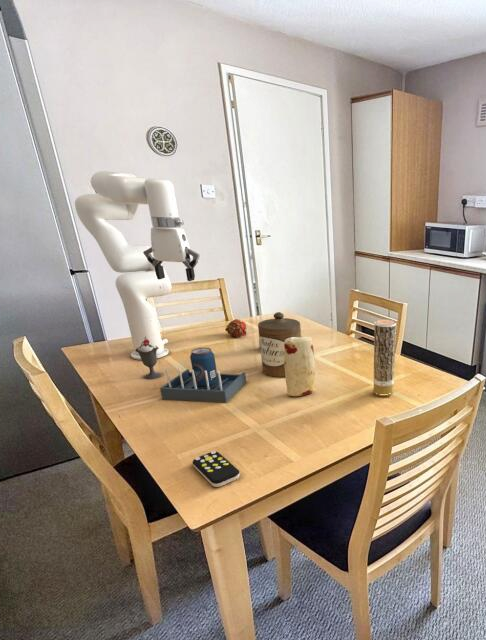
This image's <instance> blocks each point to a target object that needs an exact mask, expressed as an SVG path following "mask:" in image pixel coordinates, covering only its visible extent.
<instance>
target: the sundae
mask: <svg viewBox="0 0 486 640" xmlns="http://www.w3.org/2000/svg"><path fill="white" fill-rule="evenodd" d="M145 339H146V336H145ZM145 339H144V341H143V342H142V343H141V346H140V347H138V348H137V349H136V350H135V349H134V351H136V352H138V353H139V355H140V357H141V360H140V361H141V362H142V364H143V365H144V366H145V367H147V368H148V369H149V373H148V374H146V375H145V376H144V379H148V380H151V379H157V378H160V377H161V376H162V374H161V373H159V372H155V369H154V366H156V365H157V363H158V358H157V355H156V353H157V349H159V348H158V347H157V346H155V345H153V344H152V342H150V341H149V340H148V339H146V340H145Z"/></svg>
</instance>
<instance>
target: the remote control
mask: <svg viewBox="0 0 486 640" xmlns="http://www.w3.org/2000/svg"><path fill="white" fill-rule="evenodd" d="M192 466H193V468H195V470H197V472H198V473H200V475H201V476H202V477H204V479H205V480H206V481H207V482H208V483H209V484H210V485H211V486H213V487H215V488H219V487H223V486H225V485H227V484H230V483H232V482H234V481H236V480H237V479H239V478H240V475H241V474H240V470H239V468H237V467H236V466H234V465H233V463H231V462H230V461H229V460H228V459H227V458H226V457H225V456H223V454H221V453H220V452H219V451H214V450H213V451H210V452H207V453H205V454H203V455H200V456H197V457H195V458H194V459H193V460H192Z"/></svg>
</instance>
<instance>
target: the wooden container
mask: <svg viewBox="0 0 486 640" xmlns="http://www.w3.org/2000/svg"><path fill="white" fill-rule="evenodd" d="M284 315H285V314H284V313H282V312H281V311H277V312H275V313H274V314H273V318H269V319H265V320H261V321H259V322H258V324H257V329H258V330H257V331H258V337H259V336H260V343H259V344H260V345H259V348H260V347H261V349H260V357H261V365H262V366H261V367H262V371H263V373H264V374H265V375H267V376H269V377H275V378H276V377H277V378H285V366H284V342H285V340H286V339H288V338H291V337H302V329H301V328H302V327H301V322H300V321H299V320H297V319H294V318H287V317H285V316H284Z"/></svg>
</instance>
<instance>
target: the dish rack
mask: <svg viewBox="0 0 486 640" xmlns="http://www.w3.org/2000/svg"><path fill="white" fill-rule="evenodd" d="M165 374H166V375H165V376H166V379H167V383H165V384H164V385H162V386H161V387H160V388H159V389H160V390H159V391H160V395H161V399H162V400H168V401H169V400H171V401H188V402H206V403H207V402H209V403H228V402H229V401H230V400H231V398H233V397H234V395H236V393H237V392H238V391H239V390H240V389H241V388H242V387H243V386H244V385H246V383H247V377H246V372H245V371H242V372H241V373H240V374H235V373H221V372H220V370H218V371H217V376H218V382H217V384H216V385H215V386H213V387H209V382H208V376H207V371H205V377H206V383H207V388H200V387H198V386H197V385H196V381H195V375H194V370H192V369H191V371H190V369H189V368H186V369H185V370H184V371H182V369H181V368H179V369H178V375H177V376H175V377H174V378H172V379H171V378H170V373H169V369H168V368H165Z"/></svg>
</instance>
